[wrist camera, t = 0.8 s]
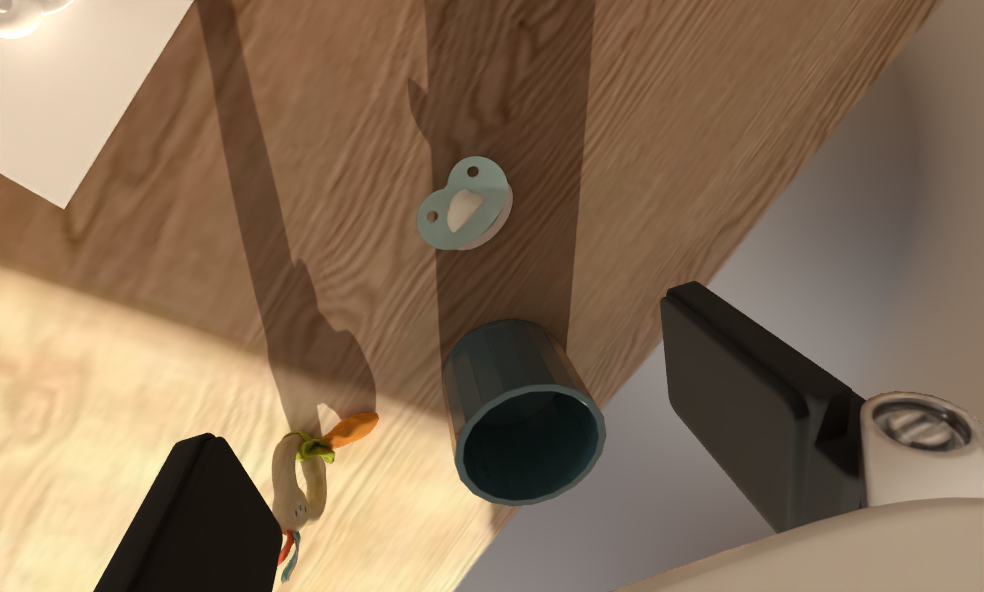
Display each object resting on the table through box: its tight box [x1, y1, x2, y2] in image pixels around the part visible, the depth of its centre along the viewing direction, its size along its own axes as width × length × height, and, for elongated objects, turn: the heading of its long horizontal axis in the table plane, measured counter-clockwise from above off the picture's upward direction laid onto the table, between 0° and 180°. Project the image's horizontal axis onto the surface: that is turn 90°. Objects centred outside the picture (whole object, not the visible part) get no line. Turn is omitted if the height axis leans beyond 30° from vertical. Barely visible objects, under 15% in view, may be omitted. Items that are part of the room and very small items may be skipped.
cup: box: [442, 320, 606, 506], centre depth 40 cm, size 11×11×10 cm
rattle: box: [272, 412, 379, 584], centre depth 39 cm, size 8×8×12 cm
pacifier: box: [417, 156, 513, 250], centre depth 35 cm, size 7×6×6 cm
